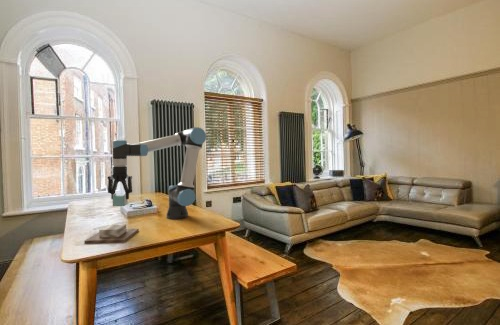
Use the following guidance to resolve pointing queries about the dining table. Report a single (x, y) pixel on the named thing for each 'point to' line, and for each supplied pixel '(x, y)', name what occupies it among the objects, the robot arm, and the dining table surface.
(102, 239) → the base
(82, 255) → the dining table surface
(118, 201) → the cube
